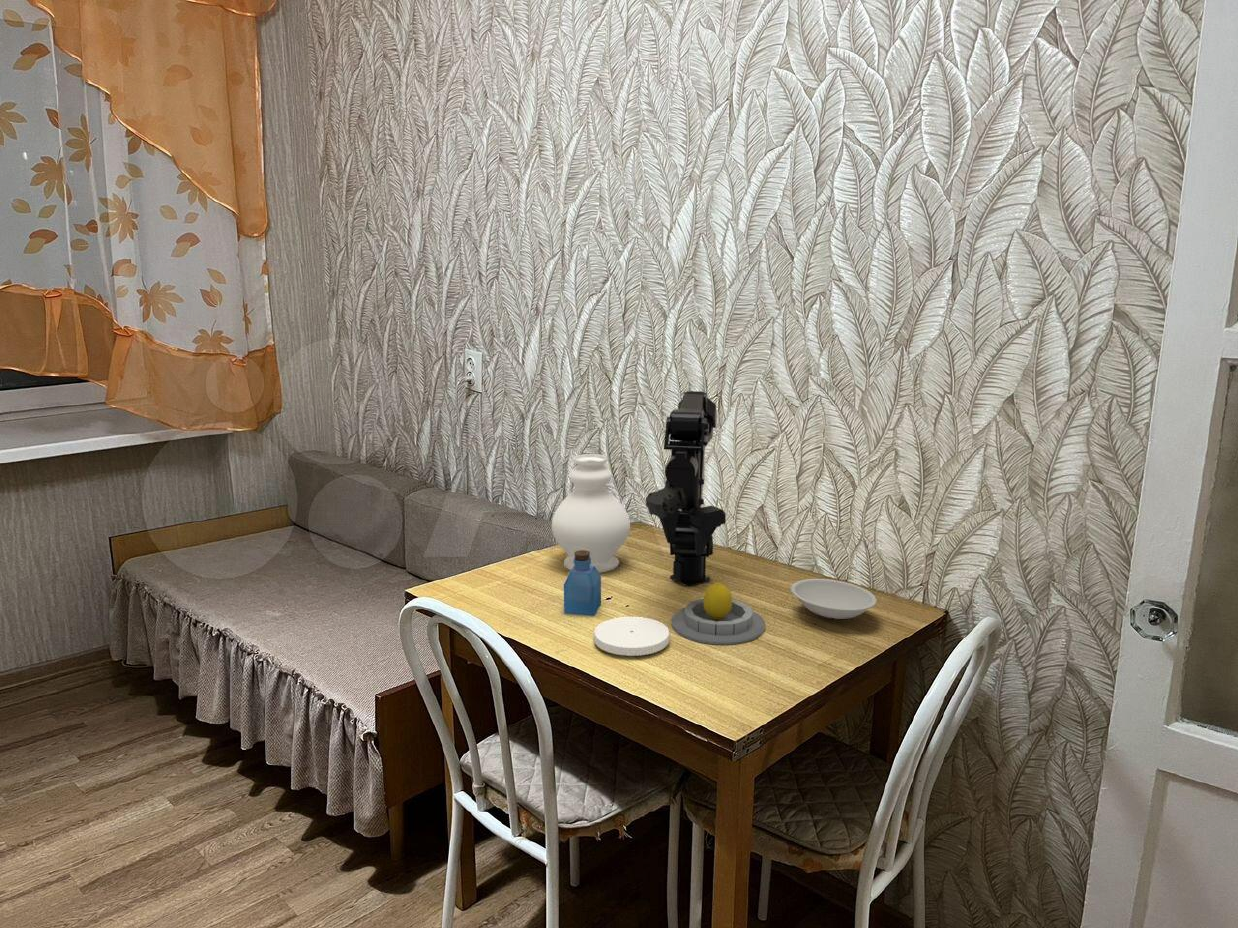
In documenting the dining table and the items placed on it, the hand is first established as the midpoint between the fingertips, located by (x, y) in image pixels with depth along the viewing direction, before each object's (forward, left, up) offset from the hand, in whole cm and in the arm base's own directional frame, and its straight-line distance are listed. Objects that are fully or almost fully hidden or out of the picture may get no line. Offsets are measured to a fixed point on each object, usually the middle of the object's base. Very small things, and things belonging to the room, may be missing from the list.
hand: (684, 548), depth 191 cm
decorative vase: (+2, -31, -12) cm, 33 cm away
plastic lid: (+19, +9, -13) cm, 25 cm away
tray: (+1, +12, -12) cm, 17 cm away
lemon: (+1, +12, -11) cm, 17 cm away
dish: (-20, +22, -12) cm, 32 cm away
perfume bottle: (+18, -10, -12) cm, 24 cm away
